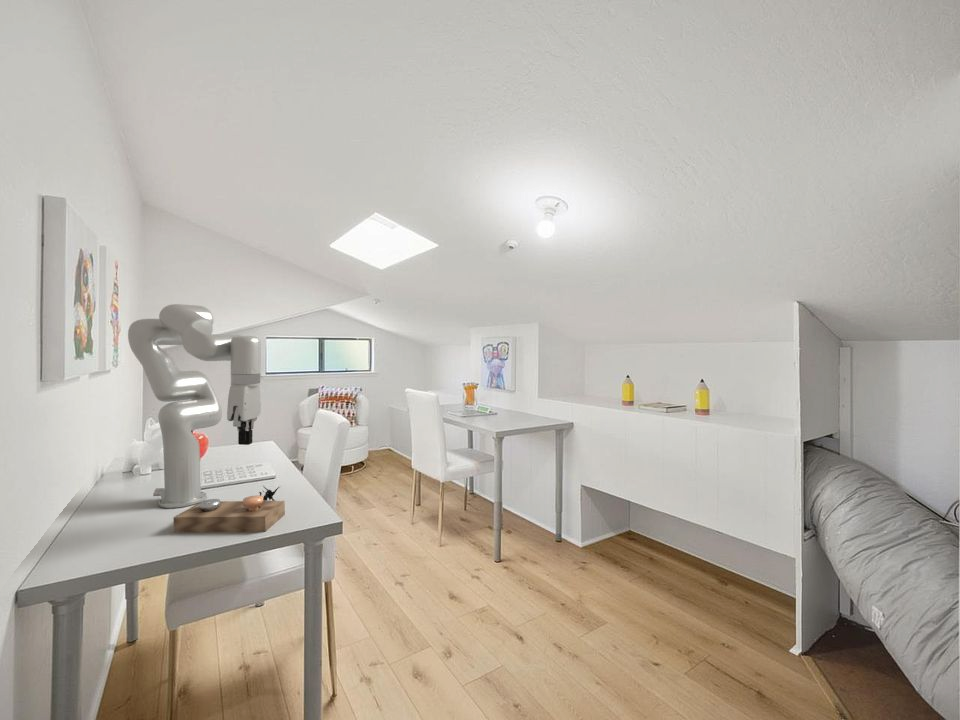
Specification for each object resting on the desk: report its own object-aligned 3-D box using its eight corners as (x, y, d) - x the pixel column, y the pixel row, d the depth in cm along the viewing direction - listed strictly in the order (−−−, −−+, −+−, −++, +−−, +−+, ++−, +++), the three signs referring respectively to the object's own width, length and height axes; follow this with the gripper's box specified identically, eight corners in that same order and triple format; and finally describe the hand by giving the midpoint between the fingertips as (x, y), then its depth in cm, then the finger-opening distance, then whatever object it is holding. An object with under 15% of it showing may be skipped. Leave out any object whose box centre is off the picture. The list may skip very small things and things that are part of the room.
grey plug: (195, 525, 123) (194, 505, 123) (206, 517, 128) (205, 499, 128) (214, 524, 123) (213, 505, 123) (224, 517, 128) (223, 498, 128)
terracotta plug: (239, 521, 123) (239, 501, 123) (249, 514, 128) (248, 495, 128) (258, 521, 123) (257, 501, 123) (267, 514, 128) (266, 495, 128)
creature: (270, 512, 137) (285, 497, 144) (267, 496, 135) (282, 482, 143) (246, 510, 138) (262, 496, 146) (243, 495, 137) (260, 481, 144)
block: (173, 532, 119) (173, 517, 119) (201, 515, 131) (201, 501, 131) (265, 531, 120) (265, 516, 119) (284, 514, 132) (284, 500, 131)
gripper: (246, 377, 136) (246, 437, 137) (216, 382, 121) (216, 450, 122) (271, 377, 136) (270, 438, 137) (244, 383, 121) (244, 451, 122)
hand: (245, 443), depth 130 cm, fingers closed
